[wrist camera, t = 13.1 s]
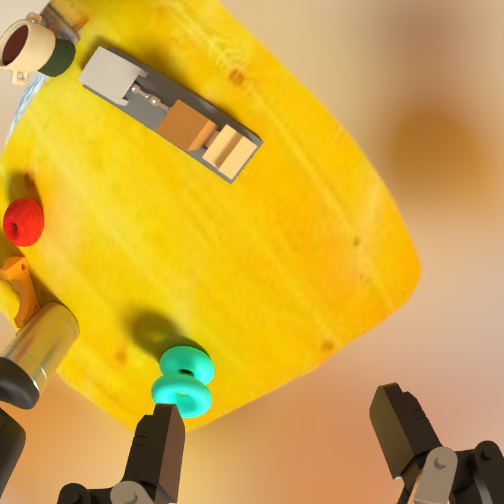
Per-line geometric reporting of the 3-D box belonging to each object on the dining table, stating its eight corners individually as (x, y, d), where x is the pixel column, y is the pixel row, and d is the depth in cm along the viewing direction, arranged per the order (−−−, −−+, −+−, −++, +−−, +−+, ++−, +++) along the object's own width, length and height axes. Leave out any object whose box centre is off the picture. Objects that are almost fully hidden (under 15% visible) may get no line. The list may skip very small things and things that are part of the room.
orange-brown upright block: (121, 95, 32) (77, 82, 20) (136, 74, 31) (96, 52, 19) (220, 160, 36) (211, 168, 25) (236, 139, 35) (234, 137, 24)
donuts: (188, 376, 38) (222, 413, 41) (196, 335, 47) (224, 372, 51) (137, 390, 39) (173, 424, 43) (151, 351, 48) (180, 385, 52)
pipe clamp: (12, 255, 41) (-8, 269, 35) (26, 256, 41) (6, 270, 35) (27, 309, 45) (11, 326, 39) (41, 311, 45) (25, 329, 39)
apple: (39, 183, 36) (11, 192, 29) (60, 223, 39) (35, 238, 32) (15, 208, 37) (-11, 220, 30) (35, 245, 40) (11, 262, 33)
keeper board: (85, 87, 32) (68, 82, 27) (112, 47, 30) (97, 38, 25) (231, 183, 38) (230, 189, 34) (263, 142, 36) (266, 142, 32)
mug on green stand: (52, 34, 27) (4, 16, 15) (85, 25, 27) (41, -1, 15) (40, 94, 31) (-14, 89, 19) (73, 87, 31) (20, 77, 19)
